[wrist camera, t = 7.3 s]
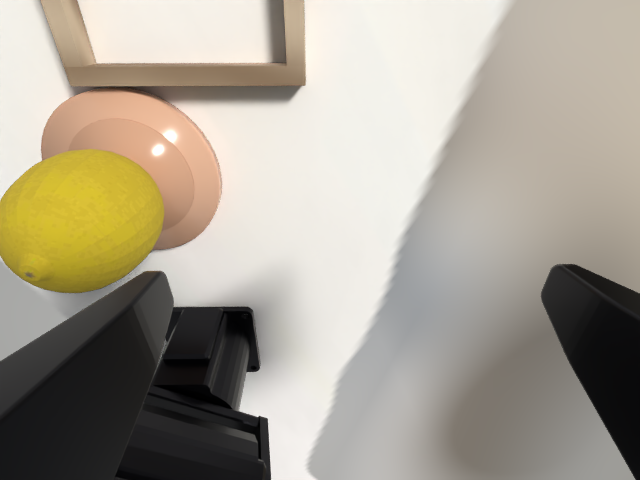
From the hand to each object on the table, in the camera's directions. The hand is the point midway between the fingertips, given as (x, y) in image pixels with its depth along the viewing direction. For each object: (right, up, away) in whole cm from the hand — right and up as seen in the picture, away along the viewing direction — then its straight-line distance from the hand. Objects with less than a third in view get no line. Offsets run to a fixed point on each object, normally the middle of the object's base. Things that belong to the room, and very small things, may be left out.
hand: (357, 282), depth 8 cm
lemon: (-11, +4, +11) cm, 16 cm away
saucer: (-11, +5, +11) cm, 16 cm away
